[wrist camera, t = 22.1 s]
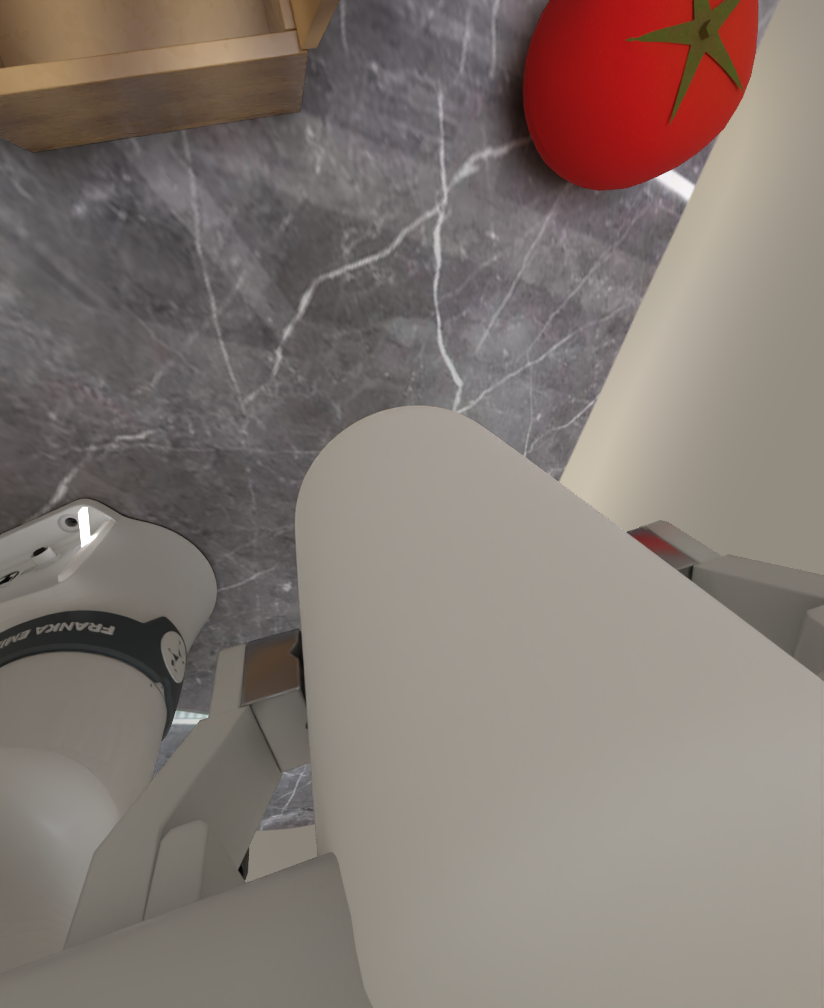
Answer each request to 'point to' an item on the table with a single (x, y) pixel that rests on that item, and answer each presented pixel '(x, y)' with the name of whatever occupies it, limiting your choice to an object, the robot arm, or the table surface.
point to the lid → (312, 20)
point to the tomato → (634, 84)
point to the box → (142, 67)
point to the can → (545, 743)
